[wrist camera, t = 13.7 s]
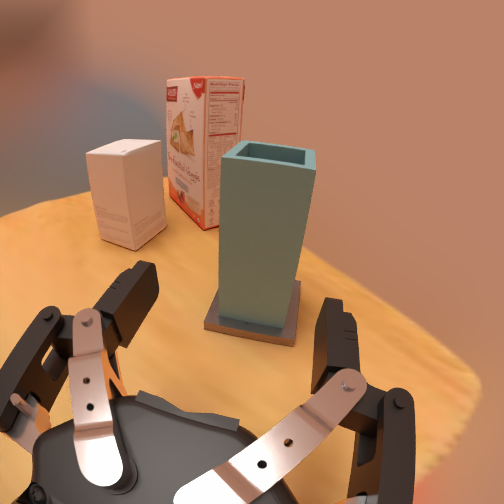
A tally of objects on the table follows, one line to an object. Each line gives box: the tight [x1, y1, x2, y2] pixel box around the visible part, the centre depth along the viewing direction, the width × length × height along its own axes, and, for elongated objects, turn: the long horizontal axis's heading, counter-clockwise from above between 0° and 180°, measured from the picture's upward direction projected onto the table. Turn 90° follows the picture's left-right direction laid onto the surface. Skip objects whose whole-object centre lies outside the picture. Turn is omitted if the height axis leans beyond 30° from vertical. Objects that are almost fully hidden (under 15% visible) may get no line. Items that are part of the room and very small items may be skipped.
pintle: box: [204, 280, 301, 347], centre depth 25 cm, size 8×8×8 cm
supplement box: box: [86, 139, 167, 251], centre depth 33 cm, size 7×7×13 cm
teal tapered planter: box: [219, 140, 316, 328], centre depth 22 cm, size 6×6×14 cm
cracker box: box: [167, 76, 245, 230], centre depth 38 cm, size 14×6×21 cm, turn 35°
